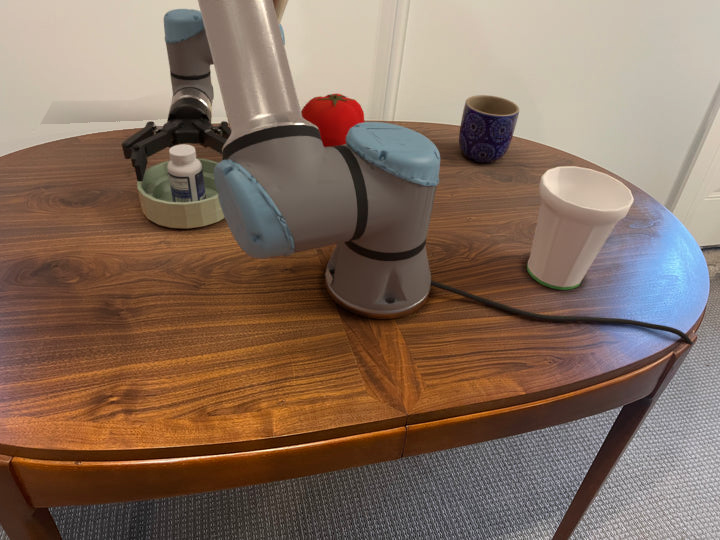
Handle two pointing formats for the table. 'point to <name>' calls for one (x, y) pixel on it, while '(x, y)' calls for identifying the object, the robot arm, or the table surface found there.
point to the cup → (574, 223)
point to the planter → (487, 127)
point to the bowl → (178, 214)
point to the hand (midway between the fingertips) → (182, 172)
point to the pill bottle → (185, 174)
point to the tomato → (333, 117)
